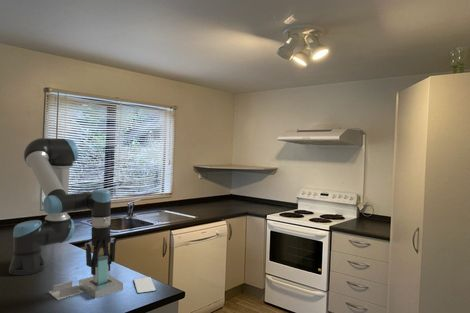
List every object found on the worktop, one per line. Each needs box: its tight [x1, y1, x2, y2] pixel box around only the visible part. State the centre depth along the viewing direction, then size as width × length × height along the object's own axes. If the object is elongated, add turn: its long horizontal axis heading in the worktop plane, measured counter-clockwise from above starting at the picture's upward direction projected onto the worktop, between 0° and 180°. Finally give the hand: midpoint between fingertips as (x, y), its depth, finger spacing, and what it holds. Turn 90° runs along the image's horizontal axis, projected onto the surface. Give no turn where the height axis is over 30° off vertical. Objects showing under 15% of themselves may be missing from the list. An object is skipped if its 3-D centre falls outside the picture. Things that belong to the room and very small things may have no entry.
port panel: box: [78, 274, 124, 299], centre depth 147 cm, size 16×12×3 cm
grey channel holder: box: [48, 280, 84, 301], centre depth 142 cm, size 10×10×3 cm
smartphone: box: [133, 276, 157, 295], centre depth 151 cm, size 8×1×16 cm
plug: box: [94, 253, 109, 285], centre depth 147 cm, size 4×4×12 cm
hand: (100, 280), depth 147 cm, fingers closed on plug, 4 cm apart
